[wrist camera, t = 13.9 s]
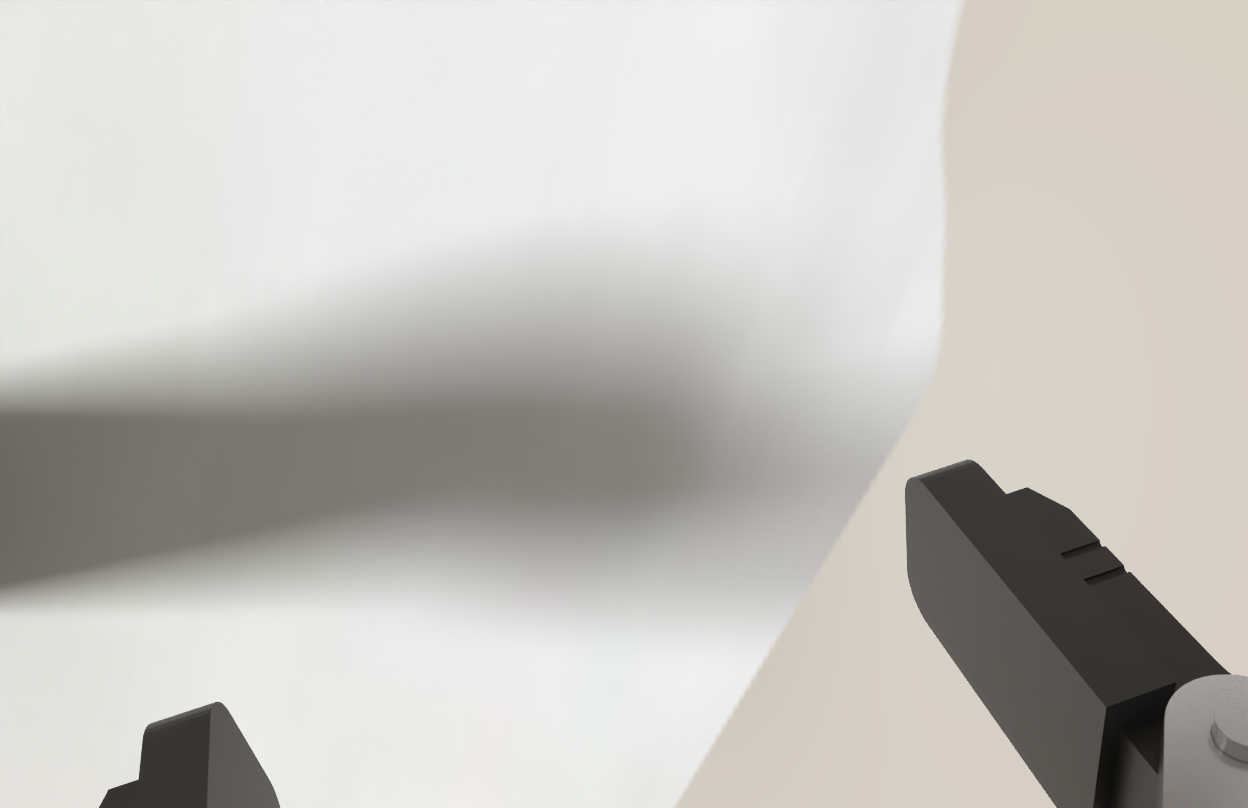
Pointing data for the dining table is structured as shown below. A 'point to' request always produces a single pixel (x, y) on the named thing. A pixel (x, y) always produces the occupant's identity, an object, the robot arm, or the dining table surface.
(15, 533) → the dining table surface
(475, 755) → the dining table surface
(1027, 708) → the robot arm
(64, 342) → the dining table surface
